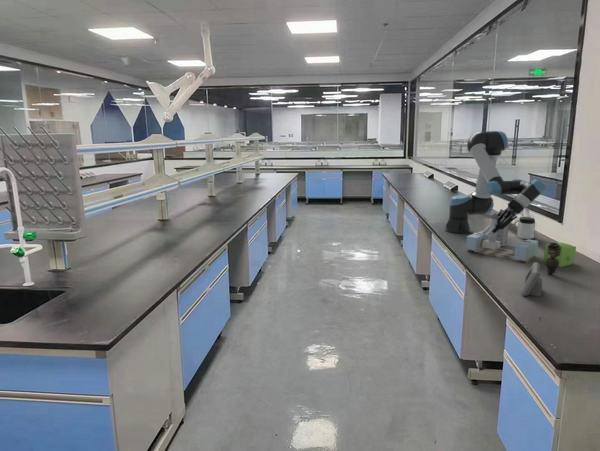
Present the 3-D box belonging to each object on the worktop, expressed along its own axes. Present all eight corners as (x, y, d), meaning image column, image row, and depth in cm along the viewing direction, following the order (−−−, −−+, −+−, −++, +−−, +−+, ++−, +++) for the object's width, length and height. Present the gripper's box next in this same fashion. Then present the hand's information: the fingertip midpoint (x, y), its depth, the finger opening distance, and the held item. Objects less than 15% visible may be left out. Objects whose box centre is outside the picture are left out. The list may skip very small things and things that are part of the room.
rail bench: (467, 250, 223) (468, 246, 223) (477, 246, 231) (478, 242, 230) (526, 262, 201) (526, 258, 201) (535, 257, 209) (535, 253, 209)
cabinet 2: (514, 258, 203) (515, 243, 201) (526, 252, 214) (528, 237, 212) (524, 260, 200) (526, 245, 198) (536, 254, 210) (538, 239, 209)
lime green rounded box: (557, 270, 191) (560, 251, 188) (537, 264, 200) (540, 245, 197) (580, 264, 199) (583, 246, 196) (560, 258, 207) (563, 240, 205)
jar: (527, 239, 243) (530, 220, 241) (514, 237, 250) (516, 218, 247) (535, 237, 248) (538, 218, 245) (522, 235, 255) (524, 216, 252)
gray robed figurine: (523, 283, 175) (526, 259, 172) (547, 288, 169) (550, 263, 167) (512, 294, 163) (515, 269, 161) (538, 300, 157) (541, 274, 155)
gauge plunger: (472, 244, 225) (473, 238, 224) (475, 243, 227) (475, 237, 226) (483, 246, 221) (483, 240, 220) (485, 245, 223) (486, 239, 222)
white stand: (482, 247, 220) (485, 213, 216) (487, 245, 224) (490, 211, 220) (495, 249, 215) (498, 214, 211) (500, 247, 219) (503, 213, 214)
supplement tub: (497, 241, 240) (499, 217, 237) (510, 245, 232) (513, 220, 228) (484, 243, 237) (486, 218, 234) (497, 247, 228) (499, 221, 225)
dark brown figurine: (545, 271, 189) (549, 240, 185) (558, 274, 185) (563, 242, 182) (542, 274, 184) (546, 243, 181) (556, 277, 181) (561, 245, 178)
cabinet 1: (466, 248, 221) (467, 234, 220) (479, 243, 232) (480, 229, 230) (475, 250, 218) (476, 236, 216) (488, 244, 228) (489, 231, 227)
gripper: (532, 211, 207) (497, 244, 210) (513, 206, 224) (482, 236, 226) (523, 201, 206) (488, 234, 209) (505, 196, 222) (473, 227, 225)
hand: (485, 235), depth 218 cm, fingers closed on white stand, 4 cm apart
